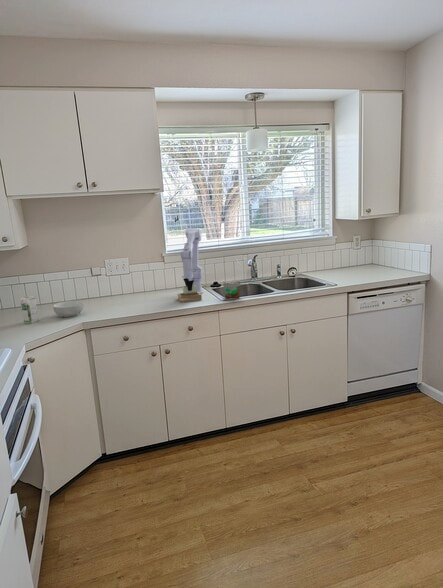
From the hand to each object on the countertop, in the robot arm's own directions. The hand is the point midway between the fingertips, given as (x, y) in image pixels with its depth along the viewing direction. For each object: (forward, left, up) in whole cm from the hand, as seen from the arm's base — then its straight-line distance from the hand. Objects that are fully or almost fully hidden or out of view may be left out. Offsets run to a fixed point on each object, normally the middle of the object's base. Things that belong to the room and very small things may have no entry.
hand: (189, 289), depth 259 cm
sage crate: (0, 0, -2) cm, 2 cm away
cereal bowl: (+7, -73, -6) cm, 74 cm away
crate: (0, 0, -6) cm, 6 cm away
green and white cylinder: (+13, -93, -6) cm, 94 cm away
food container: (+9, +25, -6) cm, 27 cm away
